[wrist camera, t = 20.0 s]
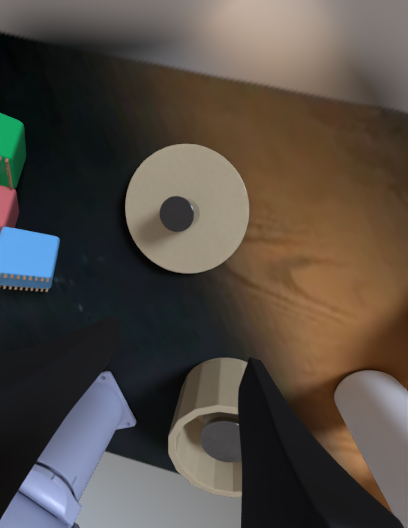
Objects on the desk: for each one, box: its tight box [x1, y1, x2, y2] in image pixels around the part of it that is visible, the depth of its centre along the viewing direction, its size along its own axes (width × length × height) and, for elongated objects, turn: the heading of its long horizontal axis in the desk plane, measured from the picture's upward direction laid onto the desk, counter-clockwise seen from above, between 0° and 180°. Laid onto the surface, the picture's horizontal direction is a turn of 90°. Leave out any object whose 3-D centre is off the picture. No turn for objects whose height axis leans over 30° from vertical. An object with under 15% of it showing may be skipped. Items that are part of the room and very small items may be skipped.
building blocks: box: [0, 113, 60, 292], centre depth 18 cm, size 8×8×12 cm
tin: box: [200, 412, 242, 462], centre depth 22 cm, size 5×5×4 cm
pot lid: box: [125, 144, 249, 273], centre depth 18 cm, size 11×11×4 cm
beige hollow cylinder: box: [168, 358, 247, 497], centre depth 22 cm, size 10×10×6 cm
